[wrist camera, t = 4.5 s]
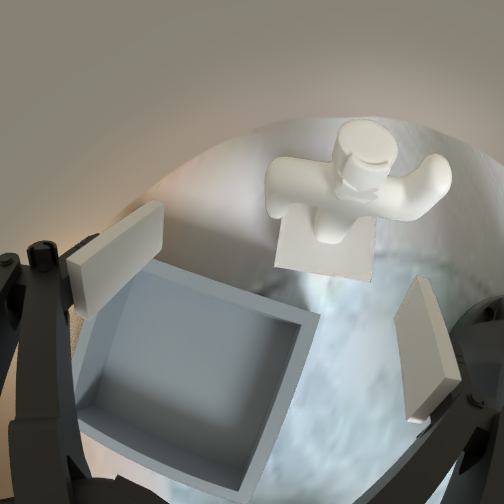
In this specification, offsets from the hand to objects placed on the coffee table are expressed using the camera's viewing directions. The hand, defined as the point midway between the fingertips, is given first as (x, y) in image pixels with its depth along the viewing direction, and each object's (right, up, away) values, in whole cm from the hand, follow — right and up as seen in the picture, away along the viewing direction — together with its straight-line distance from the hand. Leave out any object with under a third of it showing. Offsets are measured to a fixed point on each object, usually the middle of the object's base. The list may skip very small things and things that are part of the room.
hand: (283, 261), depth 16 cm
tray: (-7, -9, +9) cm, 15 cm away
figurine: (+4, +1, +12) cm, 13 cm away
